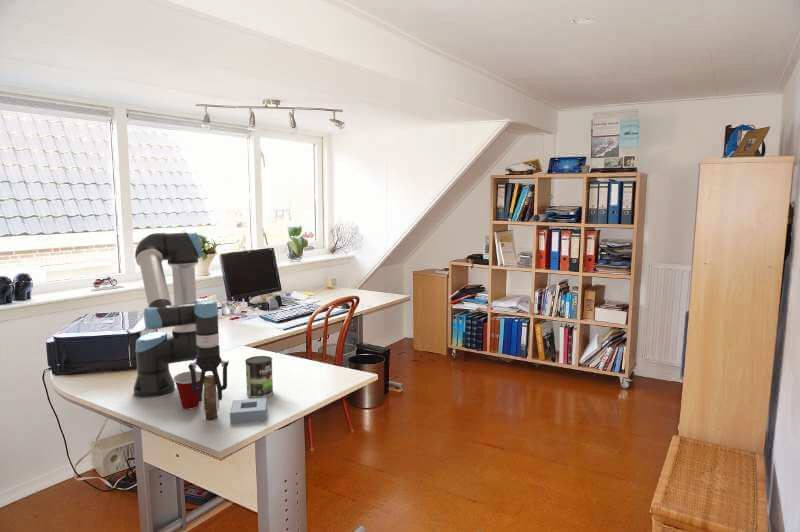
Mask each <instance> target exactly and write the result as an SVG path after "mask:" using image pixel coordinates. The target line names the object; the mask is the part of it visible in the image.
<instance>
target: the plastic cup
mask: <svg viewBox="0 0 800 532" xmlns="http://www.w3.org/2000/svg"><path fill="white" fill-rule="evenodd" d="M200 377H201V371H197V370H196V380H197V387H198V388H199V383H200ZM172 378H173V381H174V384H175V386H176V388H177V392H178V396H179V399H180V404H181V406H182V408H183V409H184V410H192V409H193V410H194V409H195V408H198V407H199V404H200V402H199V395H198V392H193V390H192V380H191V371H190V370H189V371H184V372H181V373H178V374H176V375H174V376H173V377H172Z"/></svg>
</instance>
